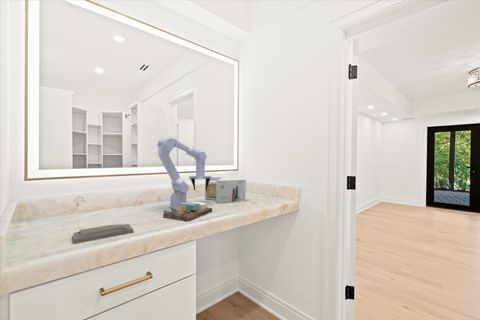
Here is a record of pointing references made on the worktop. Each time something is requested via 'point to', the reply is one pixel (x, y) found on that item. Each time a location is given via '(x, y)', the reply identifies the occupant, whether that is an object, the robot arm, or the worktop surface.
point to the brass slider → (182, 209)
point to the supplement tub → (211, 188)
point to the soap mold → (101, 233)
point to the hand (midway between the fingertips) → (200, 189)
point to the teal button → (190, 205)
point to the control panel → (186, 214)
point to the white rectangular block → (201, 205)
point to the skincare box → (230, 190)
